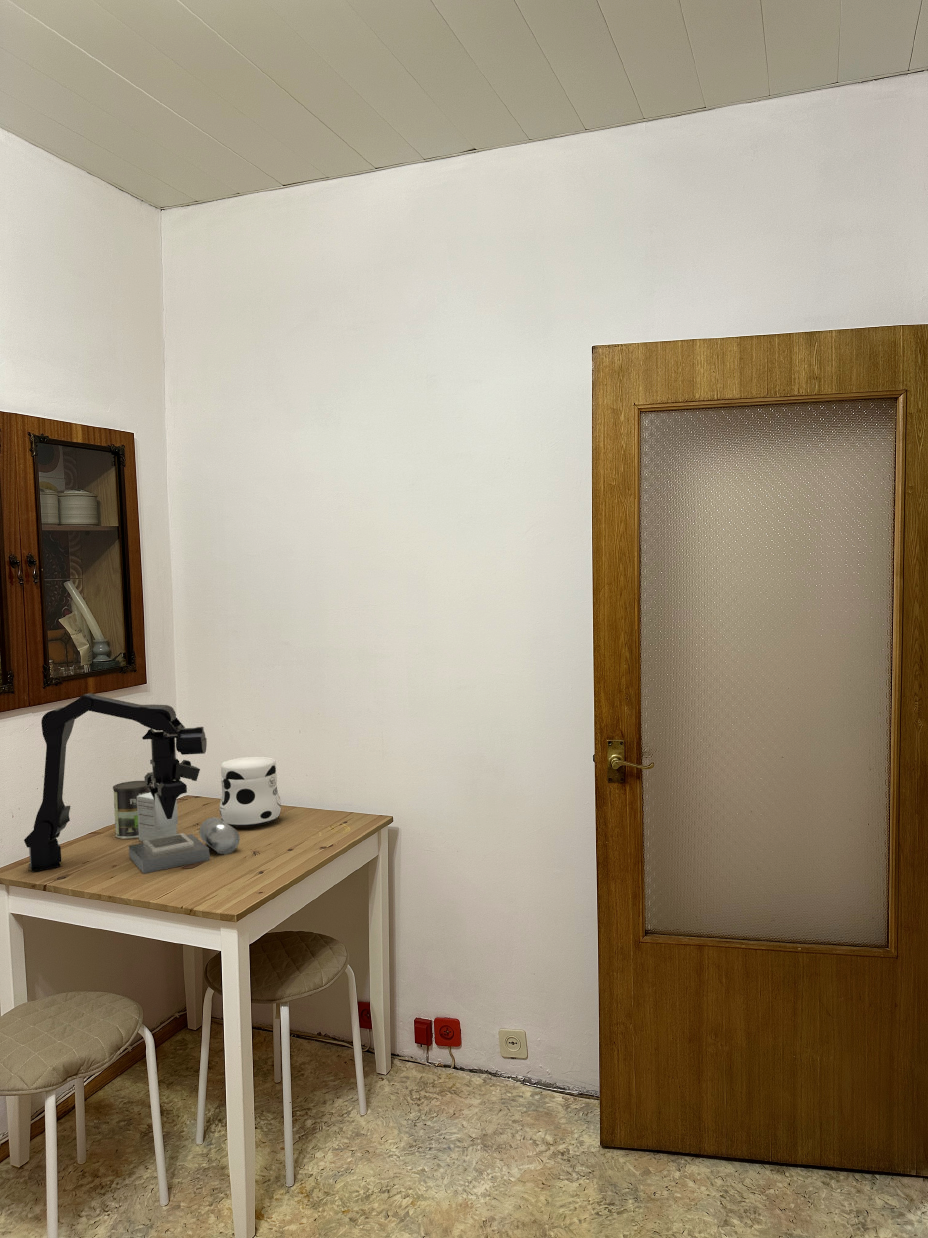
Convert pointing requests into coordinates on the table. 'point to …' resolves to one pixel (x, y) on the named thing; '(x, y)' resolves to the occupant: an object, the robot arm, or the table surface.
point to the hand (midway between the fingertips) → (166, 816)
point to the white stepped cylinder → (160, 815)
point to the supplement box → (150, 819)
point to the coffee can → (128, 808)
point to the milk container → (249, 792)
